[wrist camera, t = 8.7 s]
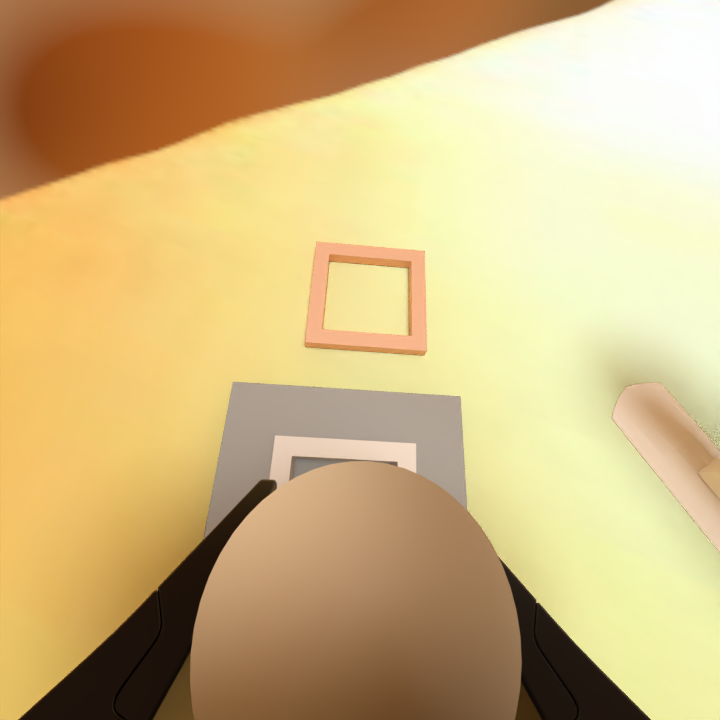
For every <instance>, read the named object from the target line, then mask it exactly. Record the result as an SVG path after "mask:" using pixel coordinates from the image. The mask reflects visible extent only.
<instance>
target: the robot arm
mask: <svg viewBox="0 0 720 720" xmlns="http://www.w3.org/2000/svg"><path fill="white" fill-rule="evenodd" d="M276 489H277V482H276V481H275V480H270V479H262V480H260V481H259V482H258V483H257V484H256V485H255V486H254V487H253V488H252V489H251V490H250V491H249V492H248V493H247V494H246V495H245V496H244V498H243V499H242V500H241V501H240V502H239V503H238V504H237V505H236V506H235V507H234V508H233V509H232V510H231V511H230V512H229V513H228V514H227V515H226V516H225V517H224V519H223V520H222V521H221V522H220V523H219V524H218V525H217V526H216V527H215V528H214V529H213V530H212V531H211V532H210V533H209V534H208V535H207V536H206V537H205V538H204V540H203V541H202V542H201V543H200V544H199V545H198V546H197V547H196V548H195V549H194V550H193V551H192V552H191V553H190V554H189V555H188V556H187V557H186V558H185V560H184V561H183V562H182V563H181V564H180V565H179V566H178V567H177V568H176V569H175V570H174V571H173V572H172V573H171V574H170V575H169V576H168V577H167V578H166V579H165V581H164V582H163V583H162V584H161V585H160V586H159V587H158V591H157V590H155V591H154V592H153V593H152V594H151V595H150V596H149V597H148V598H147V599H146V600H145V601H144V602H143V603H142V604H141V606H140V607H139V608H138V609H137V610H136V611H135V612H134V613H133V614H132V615H131V616H130V617H129V618H128V619H127V620H126V621H125V622H124V623H123V624H122V625H121V626H120V627H119V628H118V629H117V630H116V631H115V632H114V633H113V634H111V635H110V636H109V637H108V638H107V639H106V640H105V641H104V642H103V643H102V644H101V645H100V646H99V647H98V648H97V649H95V650H94V651H93V652H92V653H91V654H90V655H89V656H88V657H87V658H86V659H85V660H84V661H83V662H81V663H80V664H79V665H78V666H77V667H76V668H75V669H74V670H73V671H71V672H70V673H69V674H68V675H67V676H66V677H65V678H64V679H63V680H62V681H60V682H59V683H58V684H57V685H56V686H55V687H54V688H53V689H52V690H50V691H49V692H48V693H47V694H46V695H45V696H44V697H43V698H42V699H41V700H39V701H38V702H37V703H36V704H35V705H34V706H33V707H32V708H31V709H30V710H28V711H27V712H26V713H25V714H24V715H23V716H22V717H21V718H20V719H18V720H194V715H193V710H192V699H191V688H190V659H191V647H192V640H193V632H194V625H195V621H196V617H197V613H198V609H199V605H200V601H201V598H202V595H203V592H204V589H205V587H206V584H207V581H208V578H209V576H210V574H211V571H212V569H213V567H214V565H215V563H216V561H217V559H218V557H219V555H220V553H221V552H222V550H223V548H224V547H225V545H226V544H227V542H228V540H229V539H230V537H231V536H232V534H233V533H234V531H235V530H236V529H237V528H238V526H239V525H240V524H241V523H242V521H243V520H244V519H245V518H246V516H247V515H248V514H249V513H250V512H251V511H252V510H253V509H254V508H255V507H256V506H257V505H258V504H259V503H260V502H261V501H262V500H263V499H265V498H266V497H267V496H269V495H270V494H271V493H272V492H274V491H275V490H276ZM498 558H499V557H498ZM499 560H500V562H501V564H502V566H503V568H504V571H505V574H506V577H507V579H508V582H509V585H510V587H511V591H512V595H513V599H514V603H515V607H516V611H517V617H518V623H519V630H520V637H521V659H522V666H521V683H520V693H519V700H518V706H517V712H516V717H515V720H651V719H650V718H649V717H648V716H647V715H646V714H645V713H644V712H643V711H642V710H641V709H640V708H639V707H638V706H637V705H636V704H635V703H634V702H633V701H632V700H631V699H630V698H629V697H628V696H627V695H626V694H625V693H624V692H623V691H622V690H621V689H620V688H619V687H618V686H617V685H616V684H615V683H614V682H613V681H612V680H611V679H610V678H609V677H608V676H607V675H606V674H605V673H604V672H603V671H602V670H601V669H600V668H599V667H598V666H597V665H596V664H595V663H594V662H593V661H592V660H591V659H590V658H589V657H588V656H587V655H586V654H585V653H584V652H583V651H582V650H581V649H580V648H579V647H578V646H577V645H576V644H575V643H574V641H573V640H572V639H571V638H570V637H569V636H568V635H567V634H566V633H565V632H564V630H563V629H562V628H561V627H560V626H559V625H558V624H557V623H556V622H555V620H554V619H553V618H552V617H551V616H550V615H549V614H548V613H547V611H546V610H545V609H544V608H543V607H542V606H541V605H540V603H536V599H535V598H534V597H533V596H532V594H531V593H530V592H529V591H528V590H527V589H526V588H525V586H524V585H523V584H522V583H521V582H520V581H519V580H518V578H517V577H516V576H515V575H514V574H513V573H512V572H511V570H510V569H509V568H508V567H507V566H506V565H505V564H504V562H503V561H502V560H501V559H500V558H499Z"/></svg>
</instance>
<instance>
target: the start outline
mask: <svg viewBox="0 0 720 720" xmlns="http://www.w3.org/2000/svg"><path fill="white" fill-rule="evenodd" d="M329 261H336V262H347V263H359V264H371V265H383V266H394V267H406V268H409V336H405V335H392V334H378V333H365V332H351V331H338V330H324V329H323V322H324V312H325V301H326V291H327V280H328V270H329ZM305 344H306V347H315V348H329V349H343V350H357V351H371V352H385V353H399V354H413V355H424V354H425V353H426V352H427V331H426V289H425V251H418V250H407V249H395V248H384V247H373V246H361V245H350V244H338V243H327V242H316V251H315V260H314V268H313V277H312V286H311V295H310V303H309V312H308V321H307V330H306V338H305Z"/></svg>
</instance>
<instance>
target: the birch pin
mask: <svg viewBox="0 0 720 720" xmlns="http://www.w3.org/2000/svg"><path fill="white" fill-rule="evenodd" d="M521 666H522V659H521V637H520V630H519V623H518V617H517V611H516V607H515V603H514V599H513V595H512V591H511V587H510V585H509V582H508V579H507V577H506V574H505V571H504V568H503V566H502V564H501V562H500V560H499V558H498V556H497V554H496V552H495V550H494V548H493V546H492V544H491V542H490V541H489V539H488V538H487V536H486V535H485V533H484V531H483V530H482V528H481V527H480V526H479V524H478V523H477V522H476V521H475V519H474V518H473V517H472V516H471V514H470V513H469V512H468V511H467V510H466V509H465V508H464V507H463V506H462V505H461V504H460V503H459V502H458V501H457V500H456V499H455V498H454V497H453V496H452V495H450V494H449V493H448V492H446V491H445V490H444V489H442V488H441V487H440V486H438V485H437V484H435V483H434V482H432V481H430V480H428V479H427V478H425V477H423V476H421V475H419V474H417V473H414V472H412V471H410V470H407V469H405V468H402V467H398V466H394V465H390V464H387V463H379V462H371V461H349V462H342V463H336V464H330V465H327V466H323V467H320V468H317V469H313V470H311V471H309V472H307V473H304V474H302V475H300V476H297V477H295V478H294V479H292V480H290V481H289V482H287V483H285V484H284V485H282V486H280V487H279V488H277V489H276V490H275V491H274V492H272V493H271V494H270V495H269V496H267V497H266V498H265V499H263V500H262V501H261V502H260V503H259V504H258V505H257V506H256V507H255V508H254V509H253V510H252V511H251V512H250V513H249V514H248V515H247V516H246V518H245V519H244V520H243V521H242V523H241V524H240V525H239V526H238V528H237V529H236V530H235V531H234V533H233V534H232V536H231V537H230V539H229V540H228V542H227V544H226V545H225V547H224V548H223V550H222V552H221V553H220V555H219V557H218V559H217V561H216V563H215V565H214V567H213V569H212V571H211V574H210V576H209V578H208V581H207V584H206V587H205V589H204V592H203V595H202V598H201V601H200V605H199V609H198V613H197V617H196V621H195V625H194V632H193V640H192V647H191V659H190V688H191V699H192V710H193V715H194V720H515V717H516V712H517V706H518V700H519V693H520V683H521Z"/></svg>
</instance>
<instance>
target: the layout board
mask: <svg viewBox="0 0 720 720" xmlns="http://www.w3.org/2000/svg"><path fill="white" fill-rule="evenodd" d="M349 461H371V462H379V463H387V464H390V465H394V466H398V467H402V468H405V469H407V470H410V471H412V472H414V473H417V474H419V475H421V476H423V477H425V478H427V479H428V480H430V481H432V482H434V483H435V484H437V485H438V486H440V487H441V488H442V489H444V490H445V491H446V492H448V493H449V494H450V495H452V496H453V497H454V498H455V499H456V500H457V501H458V502H459V503H460V504H461V505H462V506H463V507H464V508H465V509H466V510H467V499H466V482H465V465H464V449H463V432H462V415H461V398H460V396H445V395H429V394H414V393H399V392H383V391H368V390H353V389H337V388H322V387H307V386H291V385H276V384H261V383H245V382H233V384H232V390H231V395H230V400H229V406H228V411H227V416H226V422H225V427H224V432H223V438H222V443H221V448H220V454H219V459H218V464H217V470H216V475H215V480H214V486H213V491H212V496H211V502H210V507H209V512H208V518H207V523H206V528H205V534H204V538H205V537H206V536H207V535H208V534H209V533H210V532H211V531H212V530H213V529H214V528H215V527H216V526H217V525H218V524H219V523H220V522H221V521H222V520H223V519H224V517H225V516H226V515H227V514H228V513H229V512H230V511H231V510H232V509H233V508H234V507H235V506H236V505H237V504H238V503H239V502H240V501H241V500H242V499H243V498H244V496H245V495H246V494H247V493H248V492H249V491H250V490H251V489H252V488H253V487H254V486H255V485H256V484H257V483H258V482H259V481H260V480H262V479H270V480H275V481H276V482H277V488H279V487H280V486H282V485H284V484H285V483H287V482H289V481H290V480H292V479H294V478H295V477H297V476H300V475H302V474H304V473H307V472H309V471H311V470H313V469H317V468H320V467H323V466H327V465H330V464H336V463H342V462H349ZM203 540H204V539H203Z"/></svg>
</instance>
